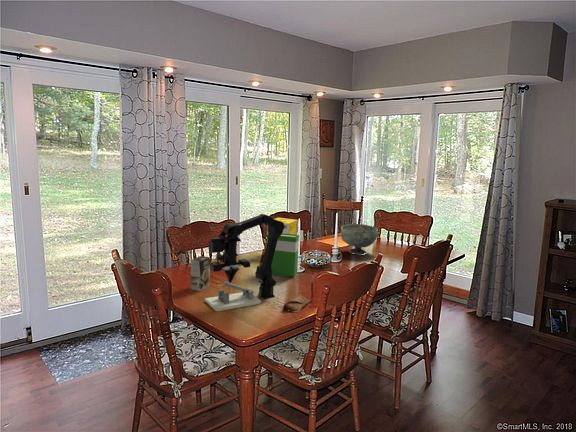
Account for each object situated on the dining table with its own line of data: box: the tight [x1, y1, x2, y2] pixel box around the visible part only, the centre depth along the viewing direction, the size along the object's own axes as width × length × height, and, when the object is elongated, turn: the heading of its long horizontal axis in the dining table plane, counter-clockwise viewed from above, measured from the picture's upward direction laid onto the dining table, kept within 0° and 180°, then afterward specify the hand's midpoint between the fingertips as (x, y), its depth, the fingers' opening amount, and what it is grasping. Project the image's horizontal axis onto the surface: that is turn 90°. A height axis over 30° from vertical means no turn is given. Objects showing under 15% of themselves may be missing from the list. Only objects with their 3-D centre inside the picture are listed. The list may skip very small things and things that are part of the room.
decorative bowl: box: [340, 223, 379, 254], centre depth 308 cm, size 26×26×20 cm
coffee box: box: [190, 255, 211, 292], centre depth 223 cm, size 9×6×16 cm
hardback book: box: [266, 233, 300, 278], centre depth 252 cm, size 18×7×24 cm, turn 75°
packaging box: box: [266, 217, 299, 235], centre depth 292 cm, size 16×16×25 cm
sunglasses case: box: [282, 292, 311, 312], centre depth 205 cm, size 18×7×7 cm, turn 158°
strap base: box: [204, 287, 262, 312], centre depth 205 cm, size 23×14×6 cm, turn 122°
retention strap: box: [222, 280, 252, 293], centre depth 206 cm, size 15×5×1 cm, turn 123°
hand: (229, 282), depth 203 cm, fingers closed
